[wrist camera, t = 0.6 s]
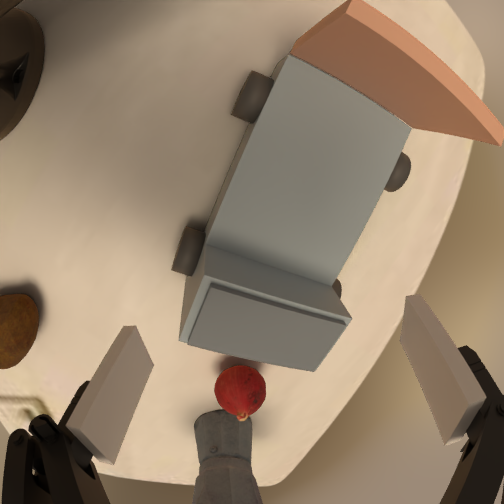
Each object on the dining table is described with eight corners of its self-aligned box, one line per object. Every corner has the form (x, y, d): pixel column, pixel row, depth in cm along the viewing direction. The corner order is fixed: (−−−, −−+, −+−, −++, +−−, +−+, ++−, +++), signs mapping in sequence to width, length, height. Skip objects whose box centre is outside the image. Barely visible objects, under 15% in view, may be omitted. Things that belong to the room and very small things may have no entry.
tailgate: (412, 128, 22) (501, 146, 12) (289, 53, 18) (345, 12, 9) (419, 112, 21) (508, 124, 12) (298, 36, 18) (357, -12, 9)
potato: (65, 337, 31) (41, 389, 23) (6, 342, 30) (-19, 384, 23) (36, 279, 27) (-1, 325, 20) (-22, 291, 27) (-56, 330, 19)
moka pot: (211, 391, 37) (222, 532, 19) (280, 428, 43) (305, 536, 25) (166, 417, 39) (163, 539, 21) (236, 449, 45) (250, 549, 27)
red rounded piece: (246, 343, 34) (255, 397, 27) (269, 370, 36) (281, 420, 29) (204, 363, 35) (205, 416, 27) (230, 388, 37) (235, 437, 30)
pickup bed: (306, 315, 33) (333, 378, 25) (168, 275, 29) (154, 339, 20) (401, 134, 26) (467, 148, 17) (258, 55, 22) (283, 22, 13)
